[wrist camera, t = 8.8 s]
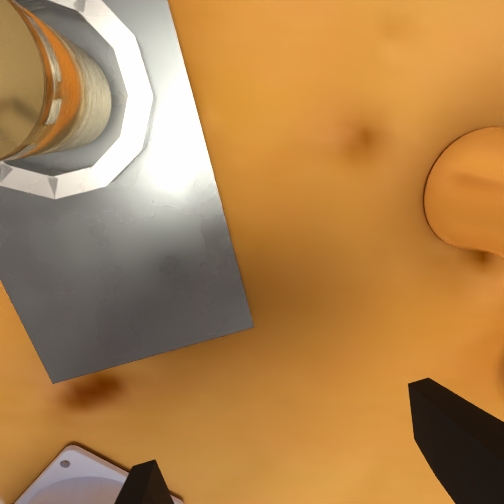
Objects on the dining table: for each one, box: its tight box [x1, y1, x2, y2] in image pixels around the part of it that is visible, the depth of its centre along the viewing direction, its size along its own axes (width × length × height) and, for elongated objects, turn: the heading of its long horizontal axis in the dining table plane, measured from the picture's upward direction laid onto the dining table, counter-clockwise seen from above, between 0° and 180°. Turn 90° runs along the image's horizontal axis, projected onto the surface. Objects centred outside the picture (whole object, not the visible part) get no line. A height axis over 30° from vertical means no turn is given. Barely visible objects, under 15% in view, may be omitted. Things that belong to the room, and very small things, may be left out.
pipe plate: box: [0, 0, 254, 384], centre depth 15 cm, size 18×10×2 cm, turn 13°
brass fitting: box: [0, 0, 111, 161], centre depth 11 cm, size 4×4×7 cm
